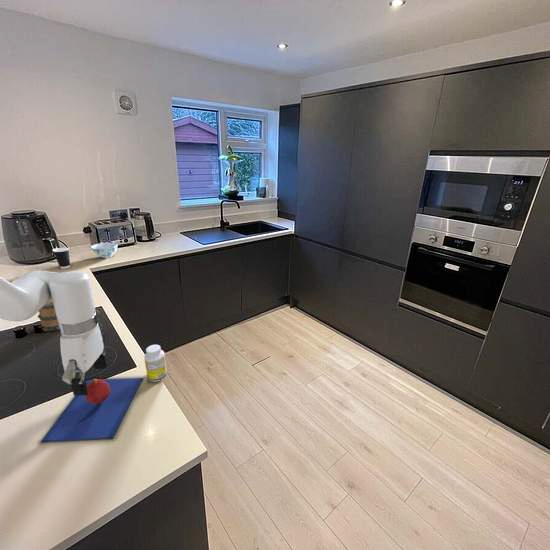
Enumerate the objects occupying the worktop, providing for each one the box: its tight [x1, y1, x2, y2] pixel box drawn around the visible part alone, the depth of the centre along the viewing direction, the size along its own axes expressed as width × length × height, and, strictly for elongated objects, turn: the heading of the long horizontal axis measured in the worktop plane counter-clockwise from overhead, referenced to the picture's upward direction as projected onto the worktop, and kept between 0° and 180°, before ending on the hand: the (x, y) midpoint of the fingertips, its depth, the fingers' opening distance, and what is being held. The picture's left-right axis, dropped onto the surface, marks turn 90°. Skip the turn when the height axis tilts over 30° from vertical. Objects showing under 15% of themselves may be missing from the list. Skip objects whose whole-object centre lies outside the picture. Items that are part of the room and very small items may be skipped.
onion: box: [85, 378, 110, 404], centre depth 76 cm, size 6×6×8 cm
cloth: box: [41, 377, 144, 443], centre depth 77 cm, size 16×20×1 cm
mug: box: [37, 301, 60, 332], centre depth 111 cm, size 13×17×20 cm
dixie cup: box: [52, 247, 71, 269], centre depth 170 cm, size 8×8×11 cm
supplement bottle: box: [143, 344, 168, 382], centre depth 86 cm, size 6×6×10 cm
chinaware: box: [91, 242, 118, 259], centre depth 190 cm, size 15×15×8 cm
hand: (91, 380), depth 74 cm, fingers open, 9 cm apart
